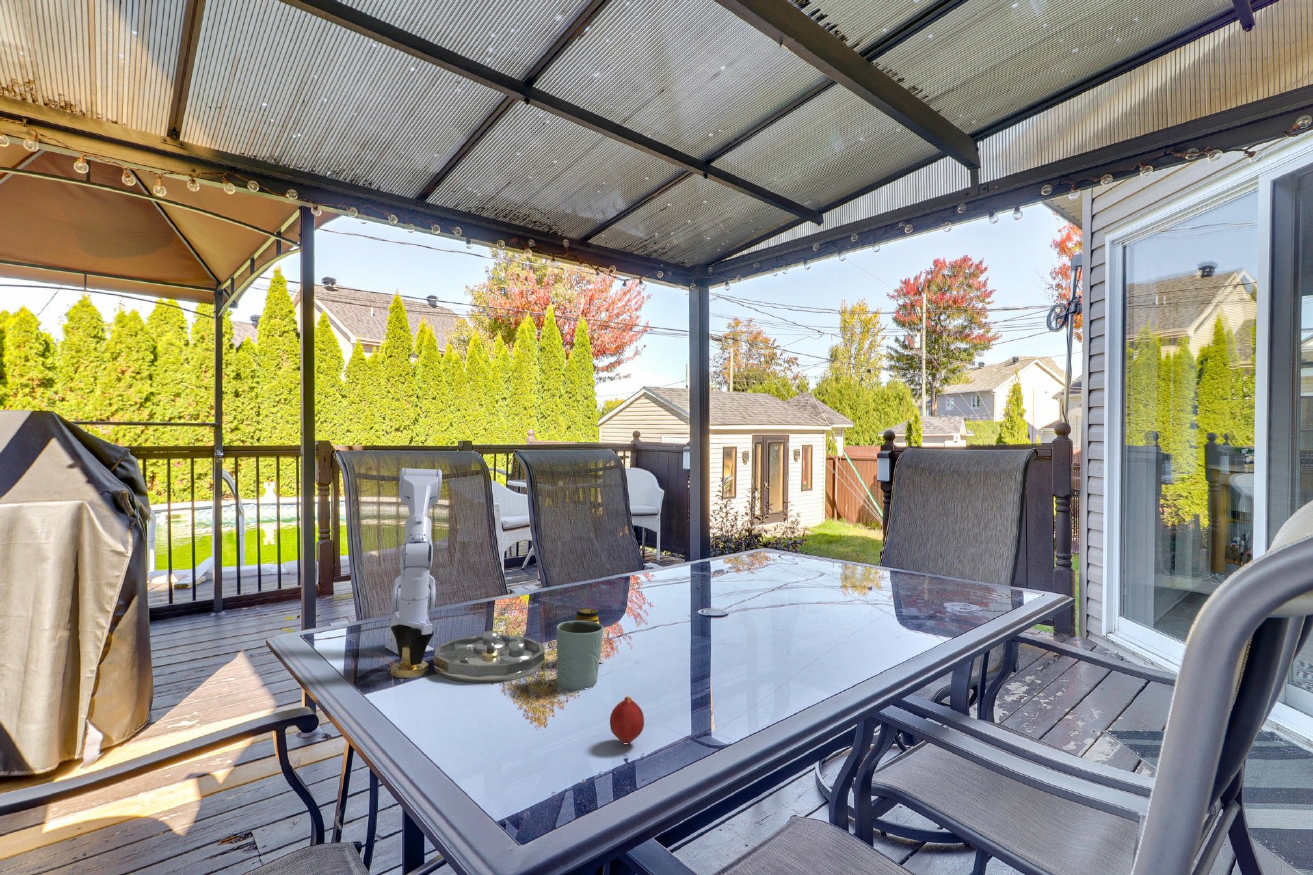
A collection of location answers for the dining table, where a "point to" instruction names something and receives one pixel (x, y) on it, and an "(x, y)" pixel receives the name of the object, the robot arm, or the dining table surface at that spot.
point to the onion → (627, 720)
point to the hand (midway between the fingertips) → (410, 660)
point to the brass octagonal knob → (408, 666)
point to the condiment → (587, 615)
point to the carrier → (488, 658)
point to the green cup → (578, 654)
